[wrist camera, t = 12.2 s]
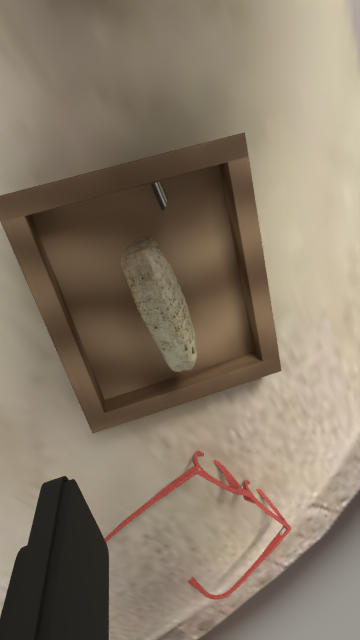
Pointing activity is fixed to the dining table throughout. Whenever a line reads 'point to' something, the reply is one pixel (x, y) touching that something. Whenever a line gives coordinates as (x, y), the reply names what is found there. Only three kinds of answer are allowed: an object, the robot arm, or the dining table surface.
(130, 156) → the dining table surface
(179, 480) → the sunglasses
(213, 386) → the wooden tray
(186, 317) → the cuneiform tablet
